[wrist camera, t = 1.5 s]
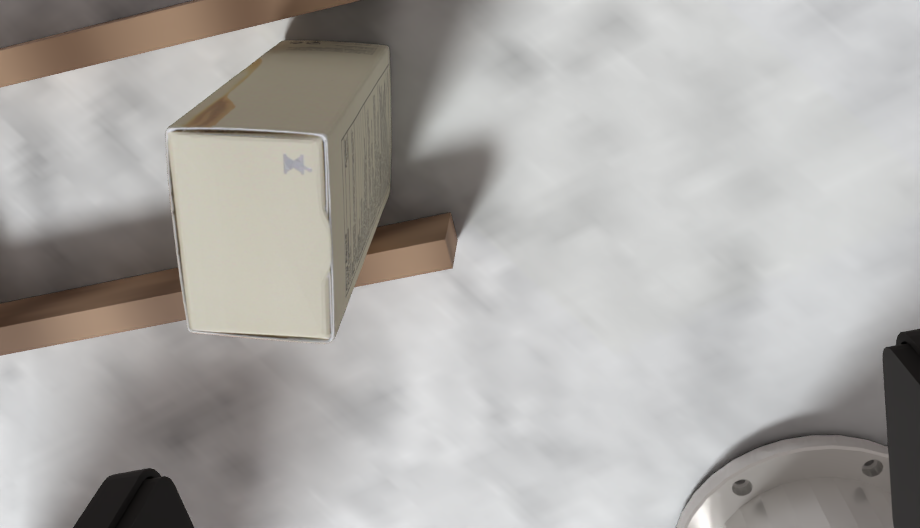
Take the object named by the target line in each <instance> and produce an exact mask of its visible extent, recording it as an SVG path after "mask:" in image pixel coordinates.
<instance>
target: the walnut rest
mask: <svg viewBox="0 0 920 528" xmlns="http://www.w3.org/2000/svg"><path fill="white" fill-rule="evenodd" d="M356 1H360V0H193V1H189V2H185V3H181V4H177V5H173V6H169V7H165V8H161V9H157V10H153V11H149V12H145V13H141V14H137V15H133V16H129V17H124V18H120V19H116V20H112V21H108V22H104V23H100V24H96V25H92V26H88V27H84V28H80V29H76V30H72V31H68V32H64V33H60V34H56V35H52V36H48V37H44V38H40V39H36V40H32V41H28V42H24V43H20V44H16V45H12V46H8V47H4V48H0V87H4V86H8V85H13V84H17V83H21V82H25V81H29V80H33V79H37V78H41V77H46V76H50V75H54V74H58V73H62V72H66V71H70V70H75V69H79V68H83V67H87V66H91V65H95V64H99V63H103V62H108V61H112V60H116V59H120V58H124V57H128V56H132V55H137V54H141V53H145V52H149V51H153V50H157V49H161V48H165V47H170V46H174V45H178V44H182V43H186V42H190V41H194V40H199V39H203V38H207V37H211V36H215V35H219V34H223V33H227V32H232V31H236V30H240V29H244V28H248V27H252V26H256V25H260V24H265V23H269V22H273V21H277V20H281V19H285V18H289V17H294V16H298V15H302V14H306V13H310V12H314V11H318V10H322V9H327V8H331V7H335V6H339V5H343V4H347V3H351V2H356ZM457 240H458V239H457V235H456V231H455V227H454V223H453V219H452V215H451V212H450V213H445V214H440V215H435V216H430V217H425V218H420V219H416V220H411V221H406V222H401V223H396V224H391V225H386V226H381V227H377V228H376V231H375V233H374V236H373V238H372V241H371V244H370V246H369V249H368V252H367V254H366V257H365V260H364V262H363V265H362V268H361V270H360V273H359V276H358V278H357V281H356V283H355V286H354V287H358V286H363V285H368V284H374V283H379V282H384V281H389V280H394V279H399V278H405V277H410V276H415V275H420V274H425V273H431V272H436V271H441V270H446V269H451V268H453V263H454V257H455V251H456V246H457ZM182 320H186V315H185V309H184V303H183V296H182V290H181V284H180V277H179V269H178V268H174V269H169V270H164V271H159V272H154V273H149V274H144V275H139V276H134V277H129V278H124V279H119V280H114V281H109V282H104V283H99V284H95V285H90V286H85V287H80V288H75V289H70V290H65V291H60V292H55V293H50V294H45V295H40V296H35V297H30V298H25V299H20V300H16V301H11V302H6V303H1V304H0V355H6V354H11V353H16V352H21V351H26V350H32V349H37V348H42V347H47V346H52V345H57V344H63V343H68V342H73V341H78V340H83V339H89V338H94V337H99V336H104V335H109V334H114V333H120V332H125V331H130V330H135V329H140V328H146V327H151V326H156V325H161V324H166V323H171V322H177V321H182Z"/></svg>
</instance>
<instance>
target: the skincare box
mask: <svg viewBox="0 0 920 528" xmlns="http://www.w3.org/2000/svg"><path fill="white" fill-rule="evenodd" d="M165 138H166V158H167V174H168V185H169V197H170V205H171V214H172V221H173V231H174V239H175V247H176V255H177V262H178V269H179V277H180V284H181V290H182V296H183V303H184V309H185V315H186V322H187V329H188V330H189V332H191V333H198V334H212V335H220V336H230V337H242V338H250V339H266V340H278V341H288V342H305V343H318V344H328V343H330V342H332V341H333V339H334V338H335V336H336V334H337V331H338V329H339V326H340V323H341V321H342V318H343V315H344V313H345V310H346V307H347V304H348V302H349V299H350V296H351V294H352V291H353V289H354V286H355V283H356V281H357V278H358V276H359V273H360V270H361V268H362V265H363V262H364V260H365V257H366V254H367V252H368V249H369V246H370V244H371V241H372V238H373V236H374V233H375V231H376V228H377V225H378V223H379V220H380V217H381V215H382V212H383V209H384V207H385V204H386V202H387V199H388V197H389V194H390V183H391V79H390V52H389V47H388V46H386V45H378V44H365V43H351V42H336V41H310V40H284V41H281V42H280V43H279V44H277V45H276V46H274V47H273V48H272V49H270V50H269V51H268V52H266V53H265V54H264V55H262V56H261V57H260V58H259V59H257V60H256V61H255V62H253V63H252V64H251V65H250V66H248V67H247V68H246V69H244V70H243V71H241V72H240V73H239V74H237V75H236V76H235V77H233V78H232V79H231V80H229V81H228V82H227V83H226V84H224V85H223V86H222V87H220V88H219V89H218V90H216V91H215V92H214V93H213V94H211V95H210V96H209V97H207V98H206V99H205V100H204V101H202V102H201V103H199V104H198V105H197V106H196V107H194V108H193V109H192V110H191V111H189V112H188V113H186V114H185V115H184V116H182V117H181V118H180V119H179V120H177V121H176V122H175V123H173V124H172V125H171V126H169V127H168V128H167V130H166V133H165Z"/></svg>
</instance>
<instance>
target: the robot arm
mask: <svg viewBox="0 0 920 528" xmlns="http://www.w3.org/2000/svg"><path fill="white" fill-rule="evenodd" d="M883 372H884V389H885V405H886V421H887V437H888V447H887V446H884V445H881V444H878V443H875V442H872V441H869V440H866V439H860V438H854V437H847V436H841V435H810V436H804V437H798V438H791V439H785V440H781V441H778V442H775V443H771V444H768V445H765V446H762V447H759V448H756V449H754V450H752V451H750V452H748V453H746V454H744V455H742V456H740V457H738V458H736V459H734V460H732V461H731V462H729V463H728V464H727V465H725V466H724V467H722V468H721V469H720V470H718V471H717V472H715V473H714V474H713V475H711V476H710V477H709V478H708V479H707V480H706V481H705V483H704V484H703V485H702V486H701V487H700V488H699V489H698V490H697V491H696V492H695V493H694V494H693V496H692V497H691V499H690V500H689V502H688V503H687V505H686V507H685V508H684V510H683V511H682V513H681V515H680V518H679V521H678V523H677V526H676V528H920V329H917V330H911V331H906V332H901V333H900V334H899V335H898V337H897V341H896V346H890V347H886V348H885V349H884V351H883ZM73 528H194V526H193V524H192V522H191V520H190V518H189V515H188V513H187V511H186V509H185V507H184V505H183V502H182V500H181V498H180V496H179V494H178V491H177V489H176V487H175V485H174V483H173V482H172V480H171V479H170V478H168V477H165V476H163V477H161V476H160V474H159V473H158V472H157V471H156V470H154V469H151V468H148V469H142V470H137V471H131V472H126V473H120V474H115V475H111V476H109V477H108V478H107V479H106V480H105V481H104V482H103V483H102V485H101V486H100V488H99V489H98V491H97V492H96V494H95V495H94V497H93V498H92V500H91V501H90V503H89V504H88V506H87V507H86V509H85V510H84V512H83V513H82V515H81V516H80V518H79V519H78V521H77V522H76V524H75V525H74V527H73Z"/></svg>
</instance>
